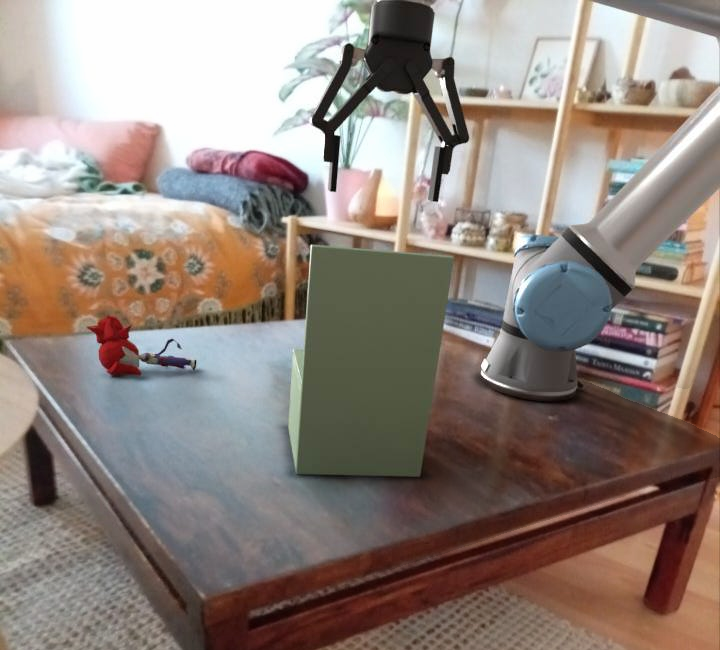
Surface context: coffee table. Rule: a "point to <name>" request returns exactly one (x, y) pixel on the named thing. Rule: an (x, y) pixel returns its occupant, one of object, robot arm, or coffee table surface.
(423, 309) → the tall sage green prism
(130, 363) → the figurine
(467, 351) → the coffee table surface
